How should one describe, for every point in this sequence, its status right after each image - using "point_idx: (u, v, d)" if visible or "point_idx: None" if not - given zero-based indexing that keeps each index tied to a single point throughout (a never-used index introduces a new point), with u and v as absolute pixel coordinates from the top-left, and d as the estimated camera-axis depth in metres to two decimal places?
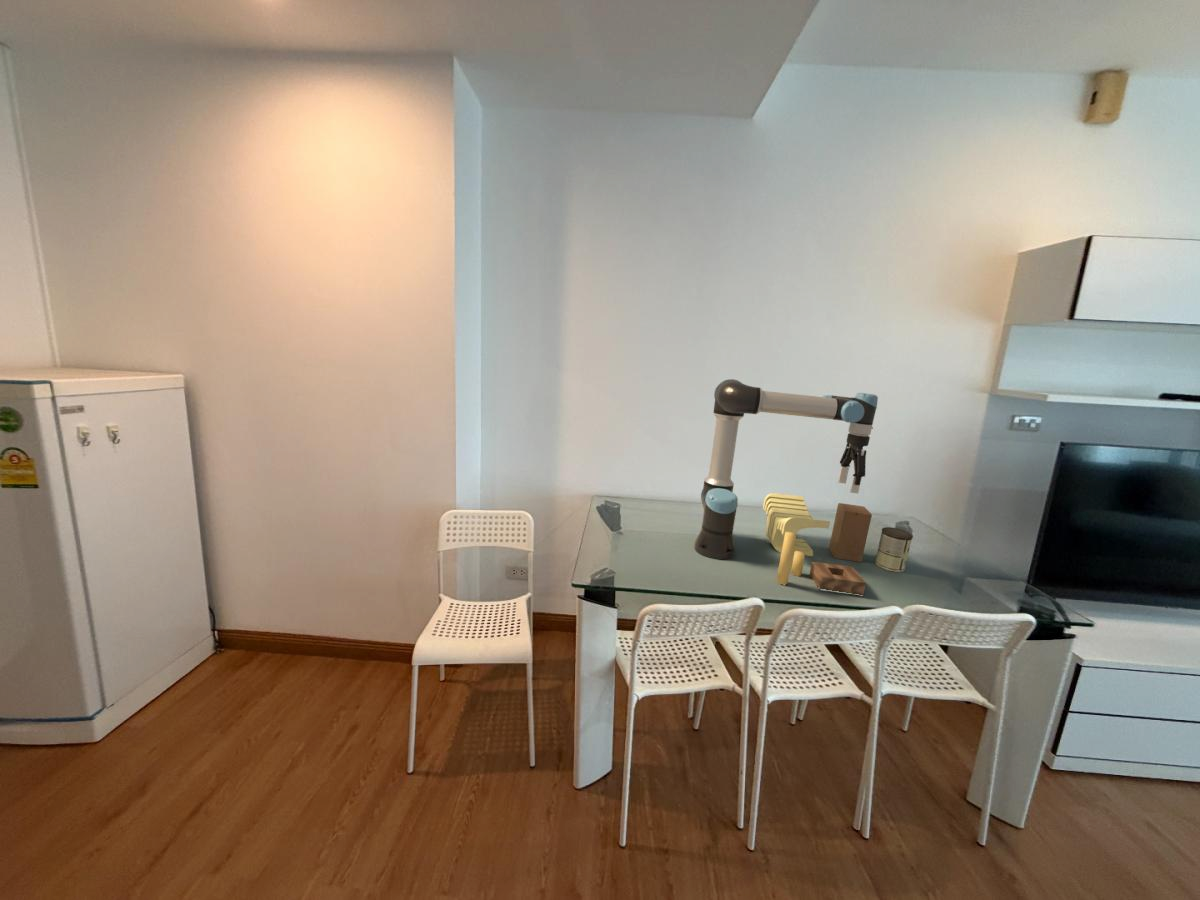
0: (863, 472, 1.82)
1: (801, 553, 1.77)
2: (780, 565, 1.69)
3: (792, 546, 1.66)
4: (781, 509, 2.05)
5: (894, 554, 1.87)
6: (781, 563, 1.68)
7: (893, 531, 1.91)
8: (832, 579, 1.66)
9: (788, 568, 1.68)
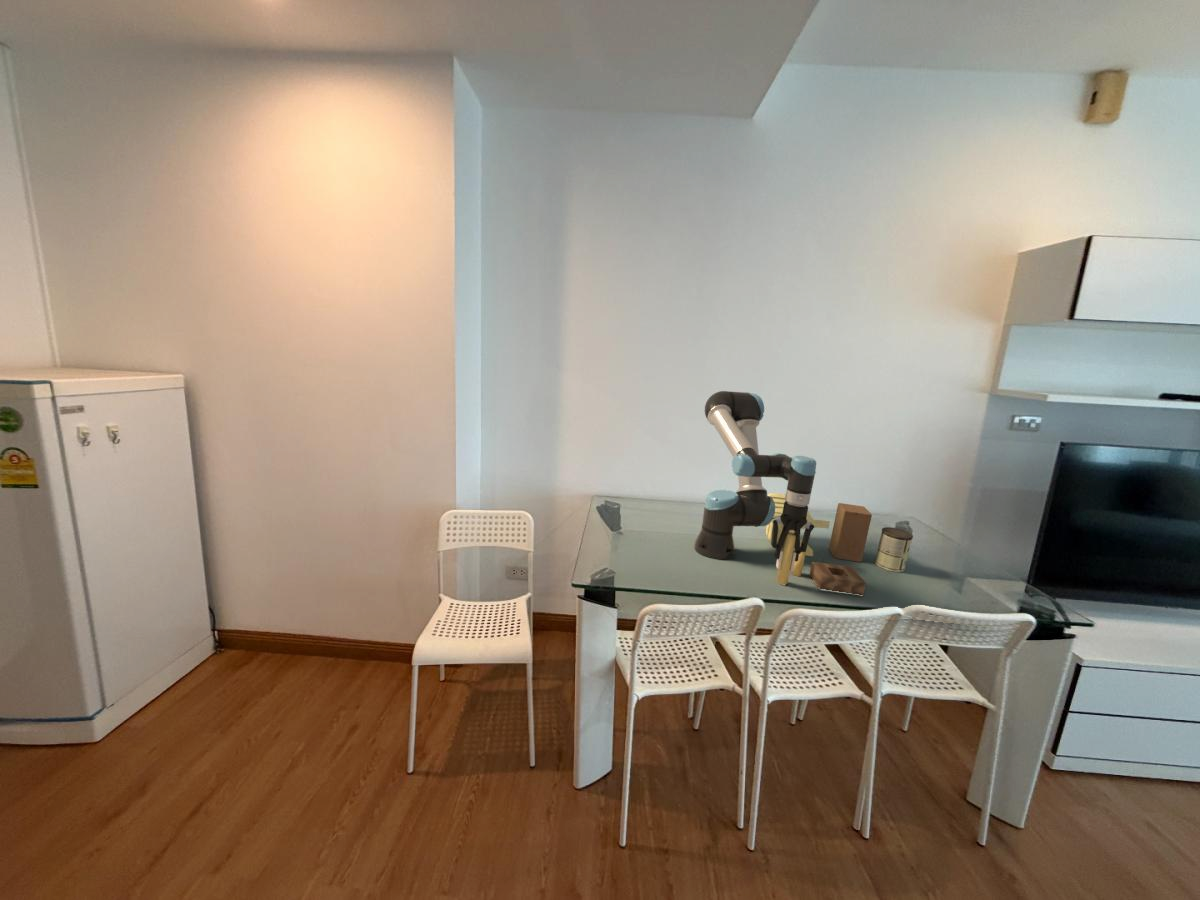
0: (772, 543, 1.67)
1: (801, 553, 1.77)
2: None
3: (792, 546, 1.66)
4: (781, 509, 2.05)
5: (894, 554, 1.87)
6: (781, 563, 1.68)
7: (893, 531, 1.91)
8: (832, 579, 1.66)
9: (788, 568, 1.68)
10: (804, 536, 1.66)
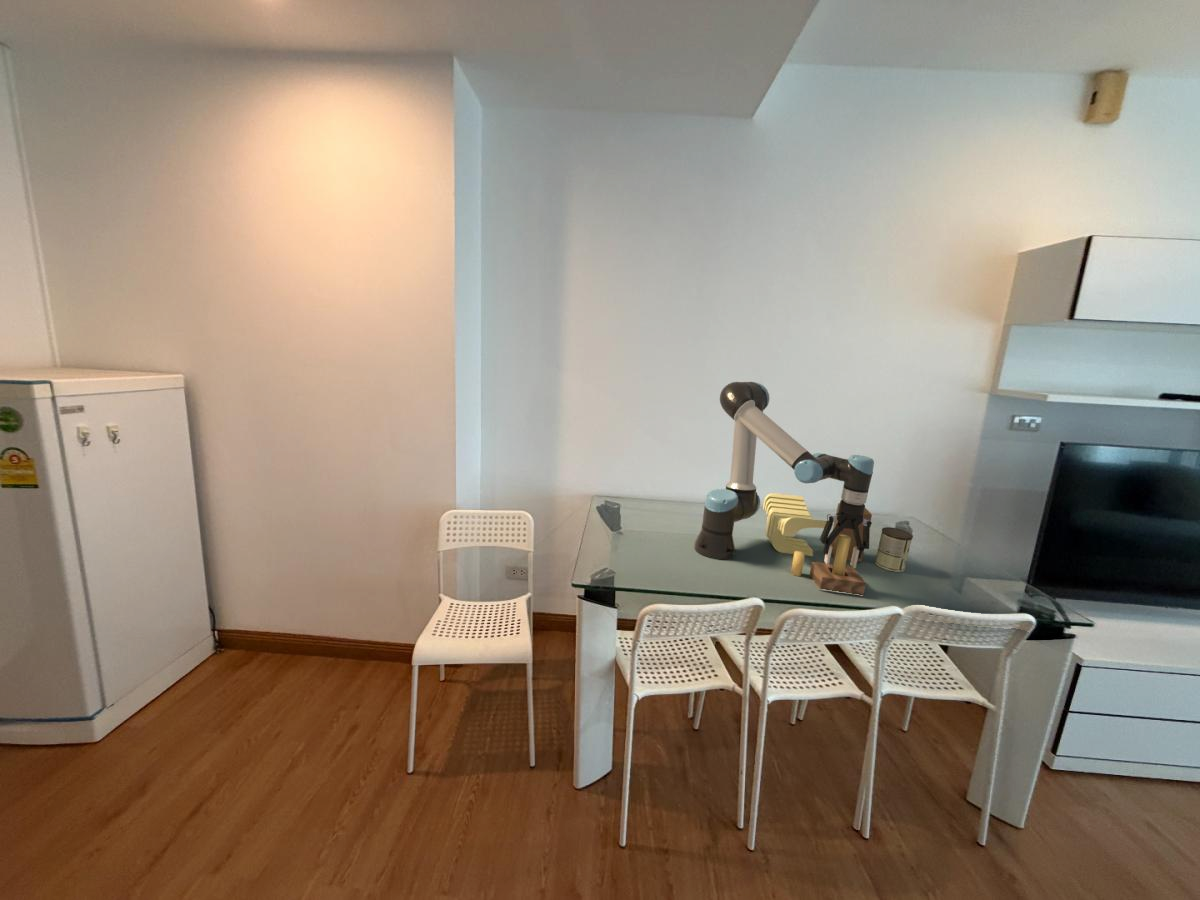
0: (822, 538, 1.69)
1: (801, 553, 1.77)
2: (834, 568, 1.71)
3: (847, 549, 1.68)
4: (781, 509, 2.05)
5: (894, 554, 1.87)
6: (835, 566, 1.70)
7: (893, 531, 1.91)
8: (832, 579, 1.66)
9: (842, 571, 1.69)
10: (864, 533, 1.68)
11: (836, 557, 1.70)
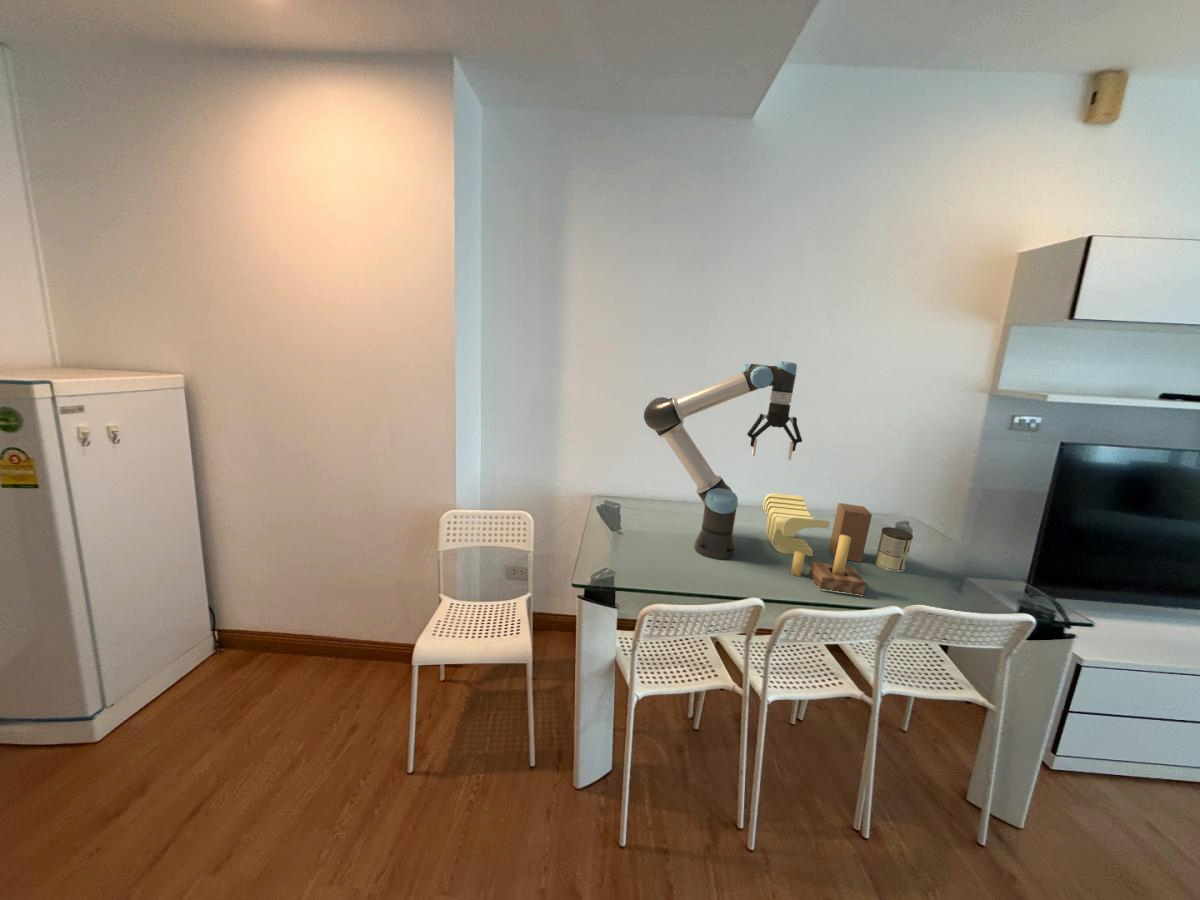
0: (749, 432, 1.92)
1: (801, 553, 1.77)
2: (834, 568, 1.71)
3: (847, 549, 1.68)
4: (781, 509, 2.05)
5: (894, 554, 1.87)
6: (835, 566, 1.70)
7: (893, 531, 1.91)
8: (832, 579, 1.66)
9: (842, 571, 1.69)
10: (794, 430, 1.91)
11: (836, 557, 1.70)
